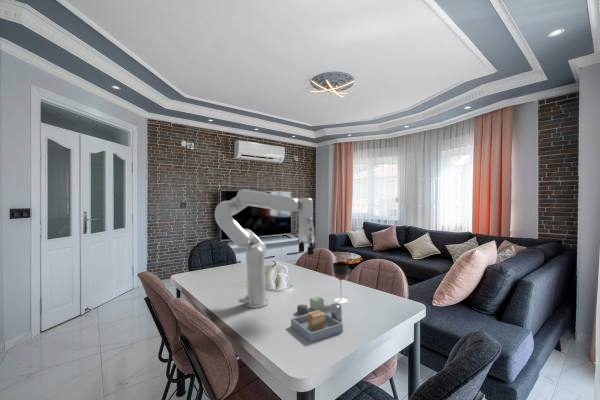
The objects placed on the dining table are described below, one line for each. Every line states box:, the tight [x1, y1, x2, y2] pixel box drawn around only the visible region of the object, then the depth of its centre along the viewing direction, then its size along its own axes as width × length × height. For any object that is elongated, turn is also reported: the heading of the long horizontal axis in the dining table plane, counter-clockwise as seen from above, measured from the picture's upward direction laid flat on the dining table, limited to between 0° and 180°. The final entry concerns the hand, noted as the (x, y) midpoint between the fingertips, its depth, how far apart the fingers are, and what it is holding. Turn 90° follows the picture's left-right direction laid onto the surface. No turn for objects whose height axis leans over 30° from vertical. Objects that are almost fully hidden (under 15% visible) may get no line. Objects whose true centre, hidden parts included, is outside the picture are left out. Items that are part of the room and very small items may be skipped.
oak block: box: [307, 310, 326, 331], centre depth 117 cm, size 4×6×6 cm
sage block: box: [309, 295, 325, 311], centre depth 139 cm, size 5×5×5 cm
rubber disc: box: [296, 304, 309, 316], centre depth 134 cm, size 5×5×3 cm
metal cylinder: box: [329, 303, 343, 323], centre depth 124 cm, size 5×5×7 cm
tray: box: [290, 311, 344, 343], centre depth 117 cm, size 16×16×3 cm
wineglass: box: [332, 261, 349, 304], centre depth 149 cm, size 8×9×20 cm
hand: (305, 253), depth 146 cm, fingers open, 9 cm apart
